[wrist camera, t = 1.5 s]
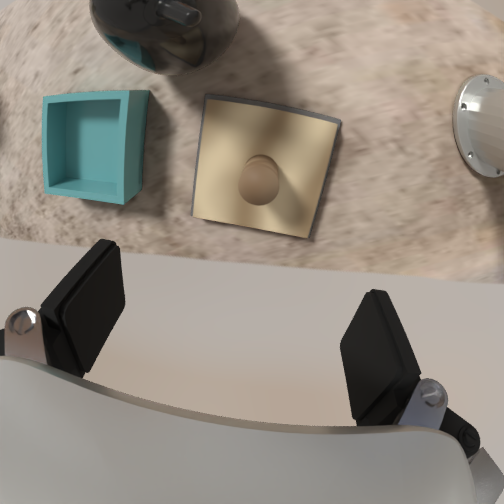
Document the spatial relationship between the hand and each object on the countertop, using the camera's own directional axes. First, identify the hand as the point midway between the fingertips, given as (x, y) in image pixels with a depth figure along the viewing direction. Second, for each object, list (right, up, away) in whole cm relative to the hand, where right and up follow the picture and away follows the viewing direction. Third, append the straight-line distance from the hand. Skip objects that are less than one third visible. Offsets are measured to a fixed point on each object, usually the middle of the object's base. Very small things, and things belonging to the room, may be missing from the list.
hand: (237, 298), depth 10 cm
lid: (+1, +10, +17) cm, 20 cm away
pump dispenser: (-5, +23, +11) cm, 26 cm away
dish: (-16, +14, +16) cm, 27 cm away
